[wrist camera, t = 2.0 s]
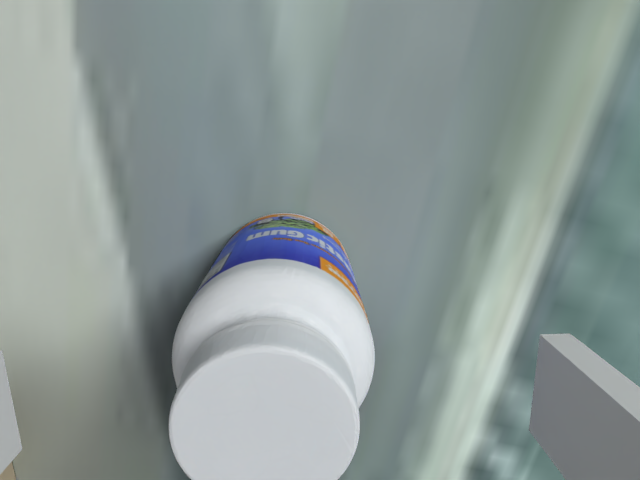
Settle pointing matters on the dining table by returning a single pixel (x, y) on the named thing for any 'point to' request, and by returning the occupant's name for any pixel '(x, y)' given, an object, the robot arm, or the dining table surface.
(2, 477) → the open box
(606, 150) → the dining table surface
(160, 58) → the dining table surface
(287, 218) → the pill bottle
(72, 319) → the dining table surface
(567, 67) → the dining table surface
